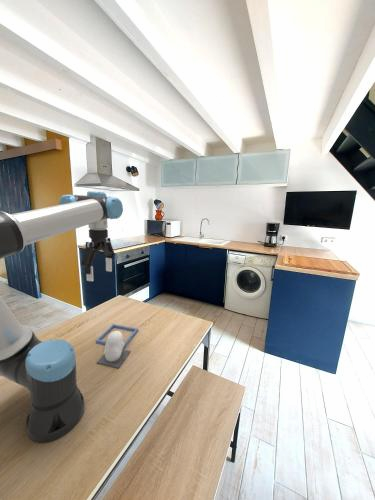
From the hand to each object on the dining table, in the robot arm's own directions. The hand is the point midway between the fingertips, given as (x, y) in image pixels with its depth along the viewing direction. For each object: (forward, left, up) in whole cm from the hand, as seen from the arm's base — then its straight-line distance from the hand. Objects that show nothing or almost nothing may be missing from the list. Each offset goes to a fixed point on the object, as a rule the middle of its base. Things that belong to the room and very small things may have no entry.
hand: (100, 275), depth 94 cm
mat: (-9, -12, -33) cm, 36 cm away
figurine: (-9, -12, -32) cm, 36 cm away
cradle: (+4, -6, -33) cm, 34 cm away
